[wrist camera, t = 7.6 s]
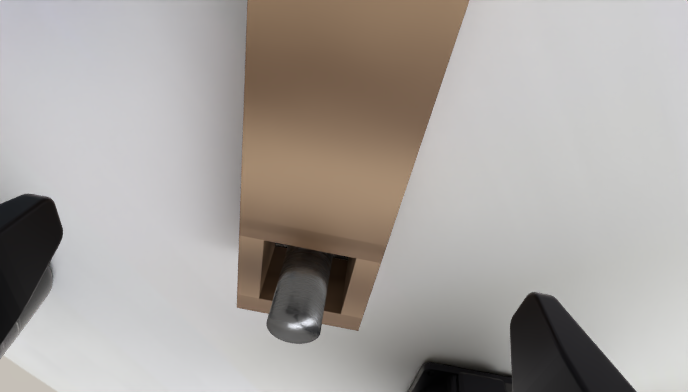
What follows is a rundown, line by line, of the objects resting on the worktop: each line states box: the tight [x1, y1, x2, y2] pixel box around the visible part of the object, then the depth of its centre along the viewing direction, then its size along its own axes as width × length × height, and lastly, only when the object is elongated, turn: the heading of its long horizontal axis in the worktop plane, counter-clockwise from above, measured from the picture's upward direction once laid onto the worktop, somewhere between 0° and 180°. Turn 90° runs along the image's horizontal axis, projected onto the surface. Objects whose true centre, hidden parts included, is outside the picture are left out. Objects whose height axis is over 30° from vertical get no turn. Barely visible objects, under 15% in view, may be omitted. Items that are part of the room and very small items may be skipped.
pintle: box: [267, 245, 333, 344], centre depth 19 cm, size 2×2×6 cm
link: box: [237, 0, 469, 331], centre depth 15 cm, size 18×6×3 cm, turn 170°
